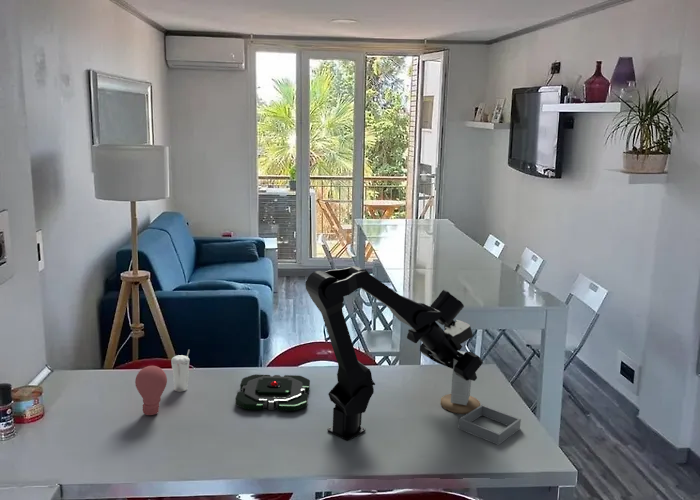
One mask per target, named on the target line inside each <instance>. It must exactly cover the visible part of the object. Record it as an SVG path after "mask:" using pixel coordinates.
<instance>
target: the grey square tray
mask: <svg viewBox="0 0 700 500" xmlns="http://www.w3.org/2000/svg"><path fill="white" fill-rule="evenodd" d="M481 416H483V417H485V418H488V419H490V420H493V421H495V422H499V423H500V424H503V425H505V426H507V427H505V428H503V429H502V430H500V431H498V432H496V431H494V430H491V429H489V428H486V427H484V426H481V425H478V424H476V423H474V422H475V420H477V419H478V418H480V417H481ZM521 422H522V419H521V418H519V417H516V416H513V415H511V414H508V413H506V412H502V411H500V410H497V409H495V408H492V407H489V406H486V405H484V404H480V406H479V407H477V408H476V409H474V410H472V411H471V412H469V413H468V414H463V416H462V417H460V418H458V428H457V429H459V430H461V431H463V432H466V433H469V434H471V435H473V436H475V437H478V438H481V439H484V440H486V441H488V442H490V443H493V444H494V445H495V444H496V445H497V446H499V445H500V444H501V443H503V442H504V441H506V440H507V439H508V438H509V437H511V436H512V435H514V434H515V433H516V432H518V431H519V430H520V429H521Z"/></svg>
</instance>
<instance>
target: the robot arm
mask: <svg viewBox="0 0 700 500" xmlns="http://www.w3.org/2000/svg"><path fill="white" fill-rule="evenodd" d="M304 285H305V286H304V287H305V290H306V292H307V293H308V295H309V296H310V299H311V301H312V302H313V303H314V305H315V306H316V308H317V309H318V310H319V312H320V314H321V316H322V319H323V322H324V325H325V329H326V332H327V334H328V338H329V340H330V345H331V346H332V351H333V353H334V356H335V359H336V361H337V365H338V368H337V373H336V378H337V382H336V384H335V385H334V386H333V388H331V389H330V391H329V392H328V393H327V395H328V397H329V400H330V402H332V403H334V407H333V409H332V410H333V411H332V425H331V426H330V427H327V431H328V432H329V433H332V434H333V435H336V436H337V437H339V438H341V439H343V440H345V441H350V440H351V439H354V438H356V437H357V436H359V435H361V434H363V433H365V432H366V428H365V427H363V426H361V425H362V419H363V418H362V414H363V413H366V410H367V408H368V406H369V402H370V400H371V398H372V396H373V394H374V392H375V390H374V388H375V387H374V386H375V385H376V382H374V380H373V378H372V377H373V376H372V371H371V369H370V368H369V367H367V366H366V365H364V364H363V363H361V362H360V361H359V360H358V357H357V354H356V350H355V348H354V347H355V346H354V344H353V340H352V338H351V334H350V332H349V328H348V325H347V321H346V318H345V315H344V313H343V307H344V302H345V297H346V296H349V295H351V294H353V293H354V292H355V291H357V290H358V289H361V290H362V291H363V292H365V293H367V294H369V295H370V296H371V297H373V298H374V299H376V300H377V301H378V302H380V303H382V304H383V305H385V306H386V307H387V308H388V310H389V311H390V312H391V314H392V315H393V316H395V318H396V319H397V320H398V321H400V322H401V323H402V324H405V325H406V326H408V327H410V328H409V329H408V332H407V334H406V335H407V336H406V339H407V340H409V341H411V342H412V343H414V344H417V343H418V342H419V341H421V344H420V345H419V351H420V353H421V354H422V355H423V356H425V357H426V358H428V359H430V360H431V361H433V362H434V363H436V364H439V365H442V366H444V367H447V368H449V369H452V370H453V365H454V361H456V362H457V363H456V365H455V366H454V372H455V373H456V375H458V376H459V377H461V378H463V379H465V380H466V381H467V380H471V381H473V382H475V381H476V380H477V379H478V377H477V374H476V372H477V371H478V370H479V368H481V366H482V365H483V361H484V360H483V359H482V357H480V356H479V355H477V354H476V353H473V352H472V351H464V352H465V354H462V353H460V352H458V351H461V349H462V348H463V345H462V344H463V343H465V342H467V341H468V340H470V339H472V338H473V337H474V333H473V330H472V328H471V325H470V324H469V323H467V322H465V321H463V320H458V319H455V318H456V317H457V316H458V315H459V313H461V311H462V310H463V308H464V307H465V305H464V303H463V302H462V301H461V300H459V299H457V297H456V296H454V295H453V294H451V293H450V292H449V291H448V290H445V289H443V290H442V291H441V292H440V293H439V295H438V296H437V297H436V299H434V301H433V302H432V304H430V306H429V305H428V304H426V303H424V302H422V303H421V302H417V301H414V300H413V299H410V298H407V297H405V296H403V295H400V294H399V293H397V292H396V291H395V290H393V289H392V288H390V287H389V286H388V285H386V284H385V283H383V282H382V281H380V280H379V279H377V278H376V277H375V276H373V275H372V274H370V272H369V271H368V270H366V269H364V268H363V267H359V266H357V265H353V266H349V267H345V268H336V269H329V270H326V271H323V270H316V271H313V272H312V273H310V274H309V275H308V276H307V279H306V280H305V284H304ZM439 324H440V325H441V326H443V328H444V329H443V328H442V327H441V326H440V325H439Z"/></svg>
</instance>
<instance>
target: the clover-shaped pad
mask: <svg viewBox="0 0 700 500" xmlns="http://www.w3.org/2000/svg"><path fill="white" fill-rule="evenodd" d="M239 389H240V390H241V391H237V392H236V396H235V399H234V401H235V405H236V406H237V407H239V408H241V409H243V410H250V411H251V410H252V411H253V410H254V411H255V410H257V411H262V410H264V409H267V410H268V411H275V409H277V410H278V411H287V412H288V411H291V412H292V411H293V412H294V411H298V410H301V409H303V408H305V407H308V404H309V402H308V401H309V393H307V392H310V390H311V380H310V379H309V378H307V377H305V376H302V375H296V374H295V375H291V374H290V375H288V374H285V375H283V376H281V375H279V374H274V375H270V374H251V375H248V376H246V377H243V378H241V381H240V386H239Z"/></svg>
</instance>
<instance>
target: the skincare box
mask: <svg viewBox="0 0 700 500" xmlns="http://www.w3.org/2000/svg"><path fill="white" fill-rule="evenodd" d="M458 352H460V353H462V354H465V352H466V351H462V350H458ZM456 363H457V362H456V361H454V365H453V369H452V379H451V392H450V394H451V403H455V404H461V405H467V403H468V400H469V397H470V396H471V387H472V380H467V381H466V380H465V379H463V378H461V377H459V376H458V375H456V373H455V372H454V366H455V365H456Z"/></svg>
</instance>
